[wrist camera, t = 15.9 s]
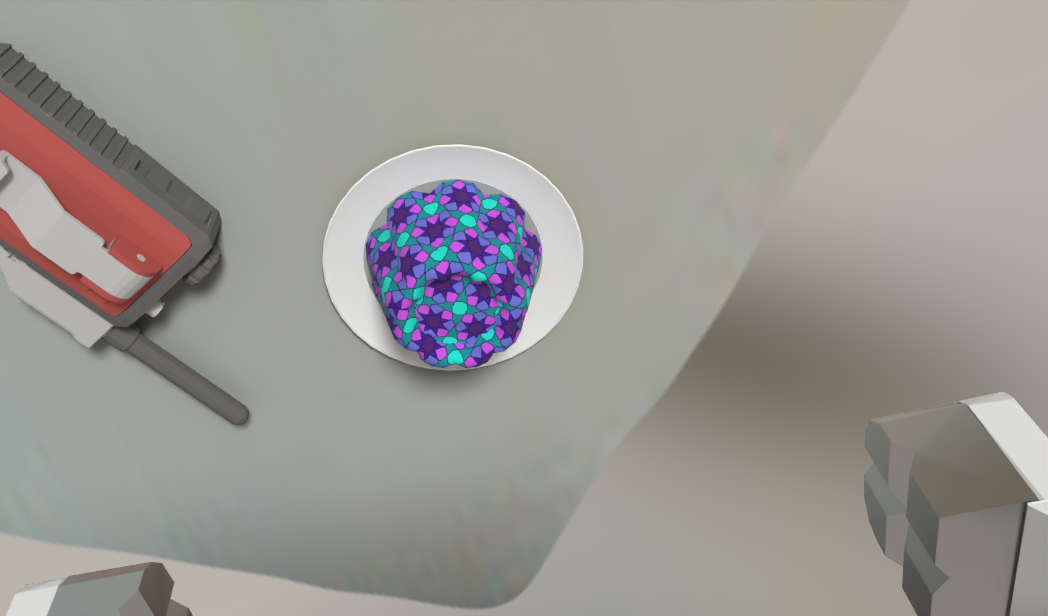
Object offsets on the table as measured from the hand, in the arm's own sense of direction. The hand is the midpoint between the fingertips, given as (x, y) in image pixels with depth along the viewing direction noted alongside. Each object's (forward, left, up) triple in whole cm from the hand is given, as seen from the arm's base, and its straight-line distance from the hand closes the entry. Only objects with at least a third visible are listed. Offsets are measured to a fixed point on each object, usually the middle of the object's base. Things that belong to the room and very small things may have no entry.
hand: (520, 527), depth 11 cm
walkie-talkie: (-8, -18, -32) cm, 37 cm away
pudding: (+6, -13, -32) cm, 35 cm away
